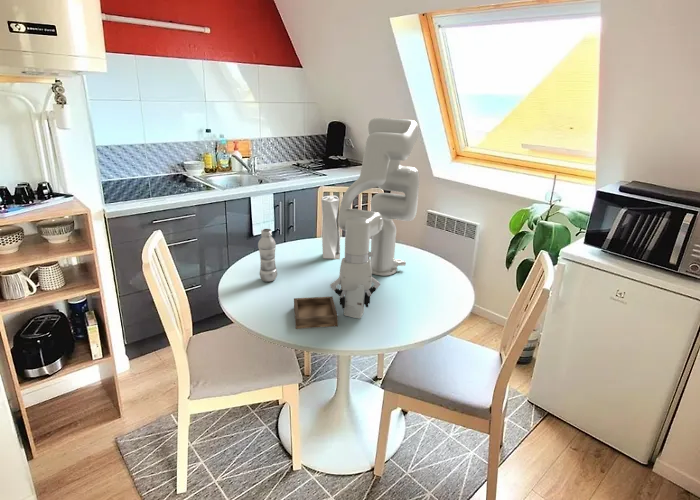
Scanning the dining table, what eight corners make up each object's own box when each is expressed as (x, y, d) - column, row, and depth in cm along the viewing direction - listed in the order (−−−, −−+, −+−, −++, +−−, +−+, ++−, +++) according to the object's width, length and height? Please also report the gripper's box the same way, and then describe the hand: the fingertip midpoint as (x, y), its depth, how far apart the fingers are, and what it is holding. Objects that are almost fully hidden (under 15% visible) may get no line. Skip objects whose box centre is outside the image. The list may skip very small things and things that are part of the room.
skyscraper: (339, 261, 185) (341, 196, 174) (320, 260, 185) (320, 196, 174) (340, 253, 192) (341, 191, 182) (321, 252, 192) (322, 190, 182)
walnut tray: (332, 305, 150) (332, 296, 149) (337, 326, 138) (337, 316, 137) (294, 307, 148) (293, 298, 147) (296, 328, 136) (295, 319, 135)
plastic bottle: (280, 277, 168) (278, 228, 160) (271, 285, 162) (269, 234, 154) (265, 274, 170) (263, 226, 162) (256, 282, 164) (253, 232, 156)
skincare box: (343, 315, 144) (344, 283, 139) (347, 309, 148) (348, 277, 143) (361, 319, 142) (362, 286, 138) (365, 312, 146) (366, 280, 142)
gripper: (381, 250, 142) (377, 298, 149) (327, 252, 139) (326, 301, 146) (386, 260, 135) (383, 310, 142) (330, 262, 132) (329, 313, 139)
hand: (354, 305), depth 144 cm, fingers closed on skincare box, 7 cm apart
